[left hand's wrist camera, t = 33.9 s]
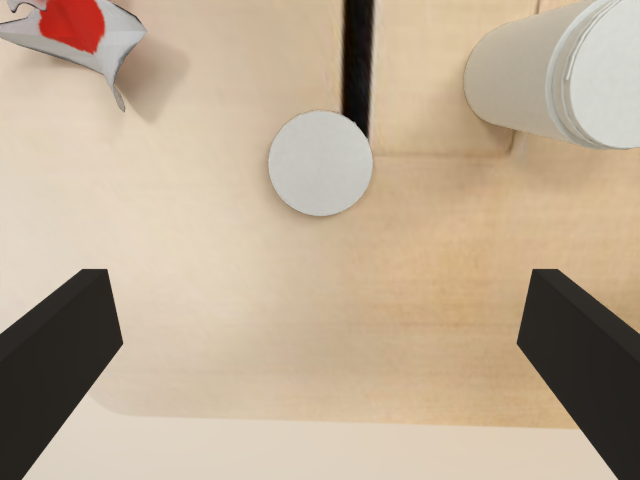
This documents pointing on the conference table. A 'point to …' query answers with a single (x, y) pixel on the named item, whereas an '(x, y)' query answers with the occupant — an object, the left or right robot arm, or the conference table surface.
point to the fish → (78, 33)
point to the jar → (563, 74)
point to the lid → (320, 163)
